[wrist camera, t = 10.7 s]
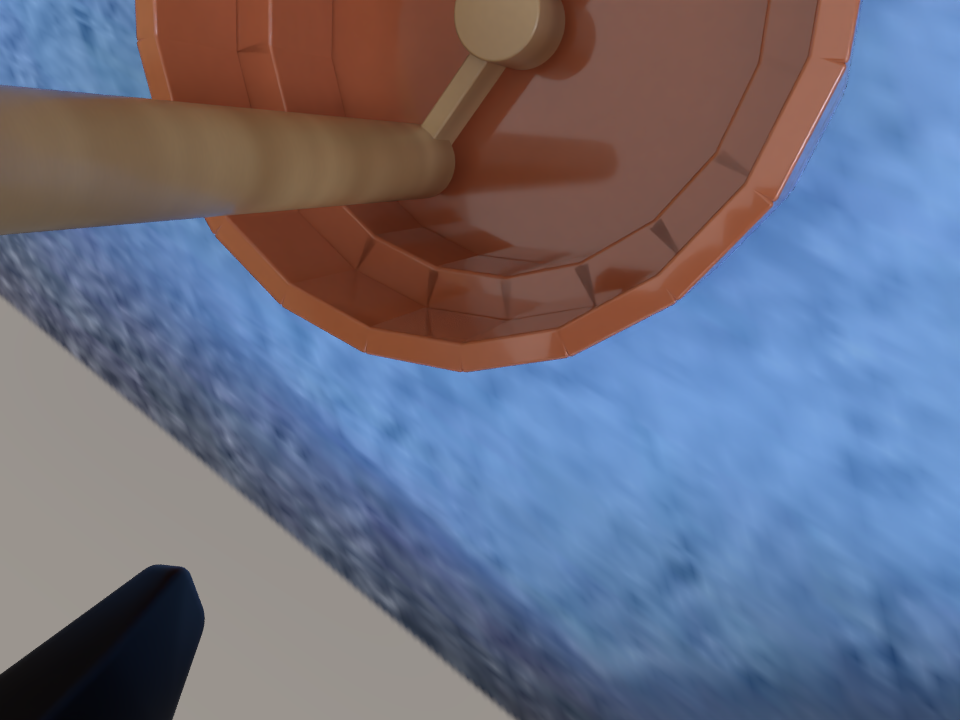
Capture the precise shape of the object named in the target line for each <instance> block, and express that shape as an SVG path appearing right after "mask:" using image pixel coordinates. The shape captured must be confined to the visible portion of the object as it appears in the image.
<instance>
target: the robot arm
mask: <svg viewBox="0 0 960 720" xmlns="http://www.w3.org/2000/svg"><path fill="white" fill-rule="evenodd" d="M204 619H205V617H204V610H203V607H202V604H201V601H200V599H199V596H198V593H197V591H196V588H195V585H194V583H193V580H192V577H191V575H190V573H189V571H188V570H186V569H185V568H183V567H179V566H169V565H152V566H150V567H148V568H146V569H145V570H143V571H142V572H140V573H139V574H138V575H136V576H135V577H133V578H132V579H131V580H129V581H128V582H127V583H125V584H124V585H122V586H121V587H120V588H118V589H117V590H116V591H114V592H113V593H111V594H110V595H109V596H107V597H106V598H105V599H103V600H102V601H100V602H99V603H98V604H96V605H95V606H94V607H92V608H91V609H90V610H88V611H87V612H85V613H84V614H83V615H81V616H80V617H79V618H77V619H76V620H74V621H73V622H72V623H70V624H69V625H68V626H66V627H65V628H63V629H62V630H61V631H59V632H58V633H57V634H55V635H54V636H52V637H51V638H50V639H49V640H47V641H46V642H44V643H43V644H41V645H40V646H39V647H37V648H36V649H35V650H33V651H32V652H30V653H29V654H28V655H27V656H25V657H24V658H23V659H21V660H20V661H18V662H17V663H16V664H14V665H13V666H11V667H10V668H8V669H7V670H6V671H4V672H3V673H2V674H0V720H172V719H173V716H174V713H175V710H176V707H177V705H178V702H179V699H180V696H181V693H182V690H183V687H184V684H185V681H186V678H187V676H188V673H189V670H190V667H191V664H192V661H193V658H194V655H195V652H196V650H197V647H198V644H199V641H200V638H201V635H202V632H203V628H204Z"/></svg>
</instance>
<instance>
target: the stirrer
mask: <svg viewBox="0 0 960 720" xmlns="http://www.w3.org/2000/svg"><path fill="white" fill-rule="evenodd" d="M454 23H455V28H456V32H457V35H458V37H459V39H460V41H461V43H462V44H463V46H464V47H465V48H466V50H467V51H468V52H469V55H468V56H467V58H466V59H465V61H464V62H463V64H462V65H461V67H460V68H459V70H458V71H457V73H456V74H455V75H454V77H453V78H452V80H451V81H450V83H449V84H448V86H447V87H446V89H445V90H444V92H443V93H442V95H441V96H440V98H439V99H438V101H437V102H436V104H435V105H434V107H433V108H432V110H431V111H430V113H429V114H428V116H427V117H426V119H425V120H424V122H423V123H422V124H414V123H403V122H393V121H382V120H371V119H360V118H350V117H339V116H328V115H317V114H307V113H296V112H285V111H275V110H264V109H253V108H242V107H232V106H221V105H210V104H200V103H189V102H178V101H167V100H157V99H146V98H135V97H124V96H114V95H103V94H92V93H82V92H71V91H60V90H49V89H39V88H28V87H17V86H7V85H0V235H7V234H18V233H30V232H42V231H53V230H65V229H76V228H88V227H100V226H111V225H123V224H134V223H146V222H158V221H169V220H181V219H193V218H204V217H216V216H227V215H239V214H251V213H262V212H274V211H285V210H297V209H309V208H320V207H332V206H344V205H355V204H367V203H378V202H390V201H402V200H413V199H425V198H431V197H434V196H436V195H438V194H440V193H441V192H442V191H443V190H444V189H445V188H446V187H447V186H448V184H449V183H450V181H451V179H452V177H453V174H454V170H455V155H454V150H453V147H452V144H453V143H454V141H455V140H456V138H457V137H458V135H459V134H460V133H461V131H462V130H463V128H464V127H465V126H466V124H467V123H468V121H469V120H470V118H471V117H472V116H473V114H474V113H475V111H476V110H477V108H478V107H479V106H480V104H481V103H482V101H483V100H484V98H485V97H486V96H487V94H488V93H489V91H490V90H491V89H492V87H493V86H494V84H495V83H496V81H497V80H498V79H499V77H500V76H501V74H502V73H503V71H504V70H505V69H506V67H508V68H511V69H515V70H528V69H533V68H535V67H538V66H539V65H541V64H543V63H544V62H546V61H547V60H548V59H549V58H550V57H551V56H552V55H553V54H554V53H555V51H556V50H557V48H558V46H559V44H560V42H561V40H562V37H563V34H564V29H565V11H564V7H563V4H562V1H561V0H456V1H455V7H454Z"/></svg>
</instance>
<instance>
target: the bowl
mask: <svg viewBox="0 0 960 720" xmlns="http://www.w3.org/2000/svg"><path fill="white" fill-rule="evenodd" d="M455 1H456V0H135V14H136V37H137V40H138V42H137V46H138V49H139V53H140V57H141V60H142V64H143V68H144V72H145V75H146V79H147V83H148V86H149V90H150V94H151V97H152V99H157V100H167V101H178V102H189V103H200V104H210V105H221V106H232V107H242V108H253V109H264V110H275V111H285V112H296V113H307V114H317V115H328V116H339V117H350V118H360V119H371V120H382V121H393V122H403V123H414V124H422V123H423V122H424V120H425V119H426V117H427V116H428V114H429V113H430V111H431V110H432V108H433V107H434V105H435V104H436V102H437V101H438V99H439V98H440V96H441V95H442V93H443V92H444V90H445V89H446V87H447V86H448V84H449V83H450V81H451V80H452V78H453V77H454V75H455V74H456V73H457V71H458V70H459V68H460V67H461V65H462V64H463V62H464V61H465V59H466V58H467V56H468V55H469V52H468V51H467V50H466V48H465V47H464V46H463V44H462V43H461V41H460V39H459V37H458V35H457V32H456V28H455V23H454V7H455ZM561 1H562V4H563V7H564V11H565V29H564V34H563V37H562V40H561V42H560V44H559V46H558V48H557V50H556V51H555V53H554V54H553V55H552V56H551V57H550V58H549V59H548V60H547V61H546V62H544V63H543V64H541V65H539V66H538V67H535V68H533V69H528V70H515V69H511V68H508V67H506V69H505V70H504V71H503V73H502V74H501V76H500V77H499V79H498V80H497V81H496V83H495V84H494V86H493V87H492V89H491V90H490V91H489V93H488V94H487V96H486V97H485V98H484V100H483V101H482V103H481V104H480V106H479V107H478V108H477V110H476V111H475V113H474V114H473V116H472V117H471V118H470V120H469V121H468V123H467V124H466V126H465V127H464V128H463V130H462V131H461V133H460V134H459V135H458V137H457V138H456V140H455V141H454V143H453V144H452V147H453V150H454V155H455V170H454V174H453V177H452V179H451V181H450V183H449V184H448V186H447V187H446V188H445V189H444V190H443V191H442V192H441V193H440V194H438V195H436V196H434V197H431V198H425V199H413V200H402V201H390V202H378V203H367V204H355V205H344V206H332V207H320V208H309V209H297V210H285V211H274V212H262V213H251V214H239V215H227V216H216V217H204V218H205V220H206V222H207V224H208V225H209V227H210V229H211V231H212V232H213V233H214V234H215V236H216V238H217V239H218V240H219V241H220V242H221V243H222V244H223V245H224V246H225V247H226V248H227V249H228V250H229V251H230V253H231V254H232V255H233V256H234V257H235V258H236V259H237V260H238V261H239V262H240V263H241V264H242V265H243V266H244V267H245V268H246V269H247V270H248V271H249V272H250V274H251V275H252V276H253V277H254V278H255V279H256V280H257V281H258V282H259V283H260V284H261V285H262V286H263V287H264V288H265V289H266V290H267V291H268V292H269V293H270V294H271V296H272V297H273V298H274V299H275V300H276V301H277V302H278V303H279V304H281V305H282V306H283V307H284V308H286V309H287V310H289V311H291V312H293V313H294V314H296V315H298V316H300V317H302V318H303V319H305V320H307V321H309V322H310V323H312V324H314V325H316V326H317V327H319V328H321V329H323V330H324V331H326V332H328V333H330V334H331V335H333V336H335V337H337V338H339V339H340V340H342V341H344V342H346V343H347V344H349V345H351V346H353V347H354V348H356V349H358V350H360V351H361V352H364V353H367V354H370V355H375V356H380V357H385V358H390V359H396V360H401V361H406V362H411V363H416V364H421V365H426V366H431V367H436V368H441V369H446V370H452V371H457V372H473V371H480V370H487V369H494V368H501V367H508V366H515V365H522V364H529V363H536V362H543V361H550V360H557V359H564V358H567V357H569V356H574V355H576V354H578V353H580V352H582V351H584V350H586V349H588V348H590V347H591V346H593V345H595V344H597V343H599V342H601V341H603V340H605V339H607V338H609V337H611V336H613V335H615V334H617V333H619V332H621V331H623V330H625V329H627V328H629V327H631V326H632V325H634V324H636V323H638V322H640V321H642V320H644V319H646V318H648V317H650V316H652V315H654V314H656V313H658V312H660V311H662V310H664V309H666V308H668V307H670V306H672V305H673V304H675V303H676V302H677V301H679V300H680V299H682V298H683V297H684V296H685V295H686V294H687V293H689V292H690V291H691V290H692V289H693V288H694V287H695V286H697V285H698V284H699V283H700V282H701V281H702V280H703V279H704V278H706V277H707V276H708V275H709V274H710V273H711V272H713V271H714V270H715V269H716V268H717V267H718V266H719V265H720V264H721V263H722V262H723V261H724V260H725V259H726V258H727V257H728V256H729V255H730V254H731V253H732V252H733V251H734V250H735V249H736V248H737V247H738V246H739V245H740V244H741V243H742V242H743V241H744V240H745V239H746V238H747V237H748V236H749V235H750V234H751V233H752V232H753V231H754V230H755V229H756V228H757V227H758V226H759V225H760V224H761V223H762V222H763V221H764V220H765V219H766V218H767V217H768V216H769V215H770V214H771V213H772V212H773V211H774V210H775V209H776V208H777V207H778V206H779V205H780V204H781V203H782V202H783V201H784V200H785V199H786V198H787V197H788V196H789V194H790V192H791V191H793V190H794V188H795V186H796V184H797V182H798V180H799V179H800V177H801V175H802V173H803V171H804V169H805V167H806V165H807V163H808V162H809V160H810V158H811V156H812V154H813V152H814V150H815V148H816V146H817V145H818V143H819V141H820V139H821V137H822V135H823V133H824V131H825V129H826V128H827V126H828V124H829V122H830V120H831V118H832V116H833V114H834V112H835V111H836V109H837V107H838V105H839V103H840V101H841V99H842V97H843V95H844V90H845V89H846V87H847V82H848V77H849V71H850V66H851V61H852V55H853V50H854V44H855V39H856V34H857V28H858V23H859V18H860V12H861V7H862V2H863V0H561Z"/></svg>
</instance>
